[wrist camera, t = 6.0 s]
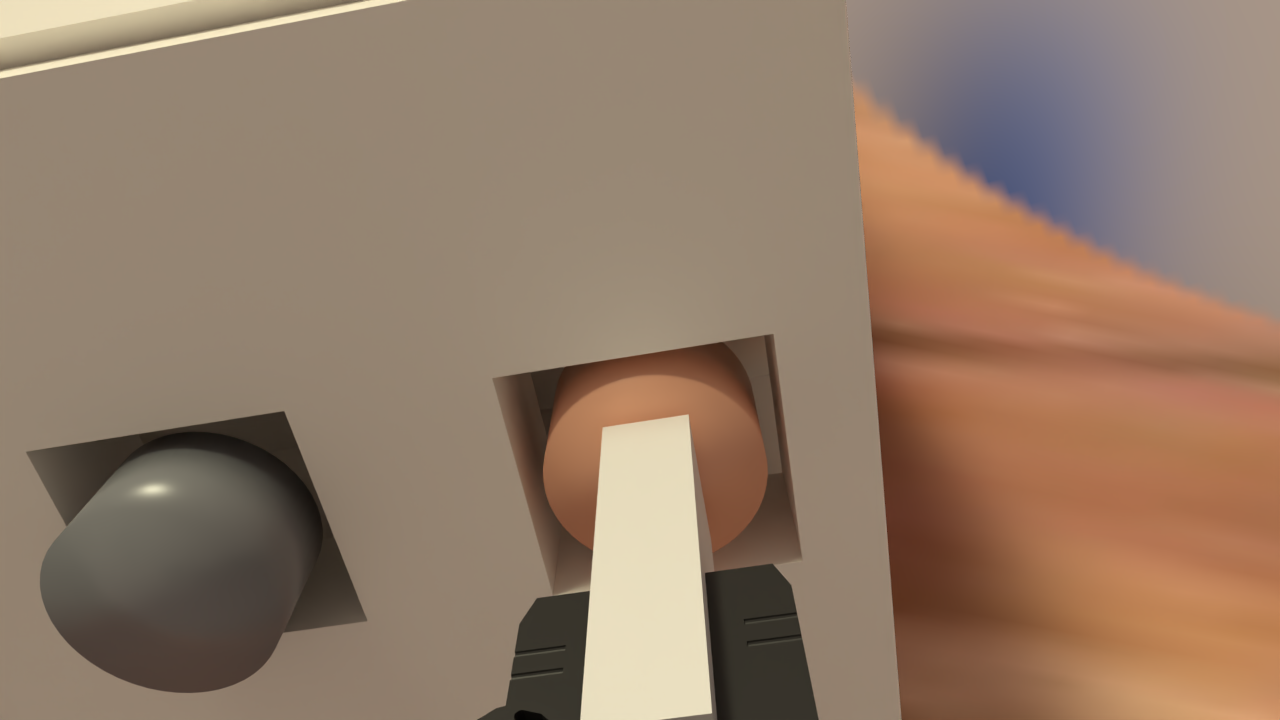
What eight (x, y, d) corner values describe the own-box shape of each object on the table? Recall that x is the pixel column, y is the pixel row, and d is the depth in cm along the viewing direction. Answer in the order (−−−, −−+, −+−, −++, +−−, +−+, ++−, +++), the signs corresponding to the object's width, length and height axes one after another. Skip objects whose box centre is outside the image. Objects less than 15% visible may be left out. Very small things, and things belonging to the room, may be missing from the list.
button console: (-20, 921, 27) (-1139, 1281, 11) (28, 341, 32) (-678, 29, 16) (894, 816, 25) (1111, 1075, 9) (781, 215, 30) (793, -280, 14)
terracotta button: (584, 586, 20) (534, 564, 16) (563, 378, 21) (511, 305, 17) (779, 559, 20) (781, 529, 15) (744, 349, 21) (737, 268, 17)
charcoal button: (157, 702, 19) (-20, 712, 15) (164, 477, 21) (5, 428, 16) (352, 676, 19) (229, 679, 14) (346, 449, 20) (232, 391, 16)
